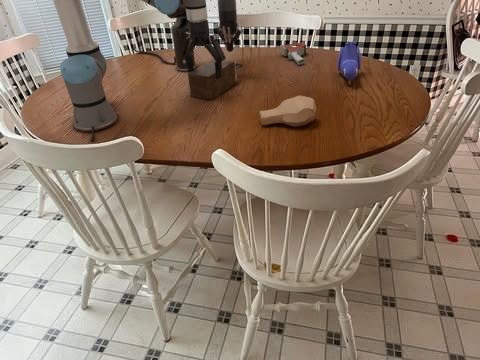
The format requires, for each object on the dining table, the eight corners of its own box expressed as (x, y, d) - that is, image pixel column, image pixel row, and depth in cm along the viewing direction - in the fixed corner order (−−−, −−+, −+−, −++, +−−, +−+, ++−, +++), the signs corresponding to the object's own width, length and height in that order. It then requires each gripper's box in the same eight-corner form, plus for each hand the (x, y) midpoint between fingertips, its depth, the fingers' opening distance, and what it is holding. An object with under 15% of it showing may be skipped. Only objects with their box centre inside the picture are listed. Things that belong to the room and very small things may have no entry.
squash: (320, 127, 121) (320, 106, 115) (262, 137, 123) (259, 116, 116) (314, 109, 129) (313, 87, 122) (259, 119, 130) (256, 98, 124)
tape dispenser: (301, 69, 172) (317, 54, 185) (301, 58, 169) (318, 44, 181) (269, 62, 180) (286, 49, 192) (269, 52, 176) (287, 39, 189)
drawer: (226, 72, 167) (225, 55, 162) (243, 75, 163) (242, 58, 159) (196, 91, 150) (194, 73, 146) (214, 94, 146) (212, 76, 142)
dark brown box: (216, 80, 162) (214, 58, 157) (235, 83, 158) (234, 61, 152) (190, 96, 149) (187, 73, 143) (211, 100, 144) (208, 76, 139)
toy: (336, 78, 167) (337, 88, 145) (337, 40, 160) (339, 44, 138) (358, 77, 165) (363, 87, 142) (360, 39, 158) (366, 42, 136)
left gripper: (231, 19, 129) (235, 76, 142) (177, 16, 140) (186, 69, 152) (220, 24, 124) (226, 83, 136) (165, 20, 135) (175, 75, 147)
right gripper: (245, 7, 146) (247, 50, 156) (218, 5, 152) (222, 47, 162) (236, 11, 141) (238, 55, 151) (208, 9, 147) (213, 52, 157)
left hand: (204, 75), depth 145 cm, fingers open, 13 cm apart
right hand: (230, 51), depth 157 cm, fingers closed
